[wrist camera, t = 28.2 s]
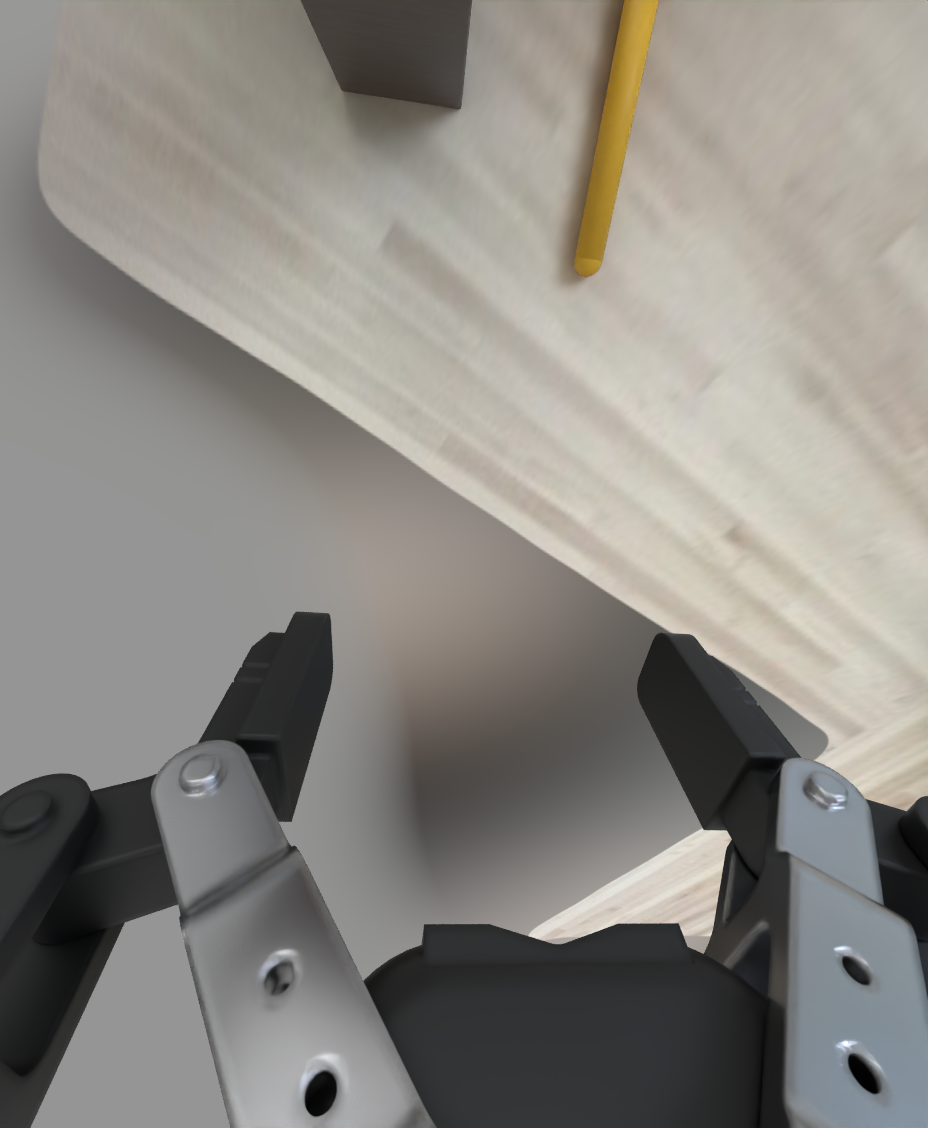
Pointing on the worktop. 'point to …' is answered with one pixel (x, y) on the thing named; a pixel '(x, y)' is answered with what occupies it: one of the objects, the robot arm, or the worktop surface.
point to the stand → (396, 46)
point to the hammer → (614, 131)
